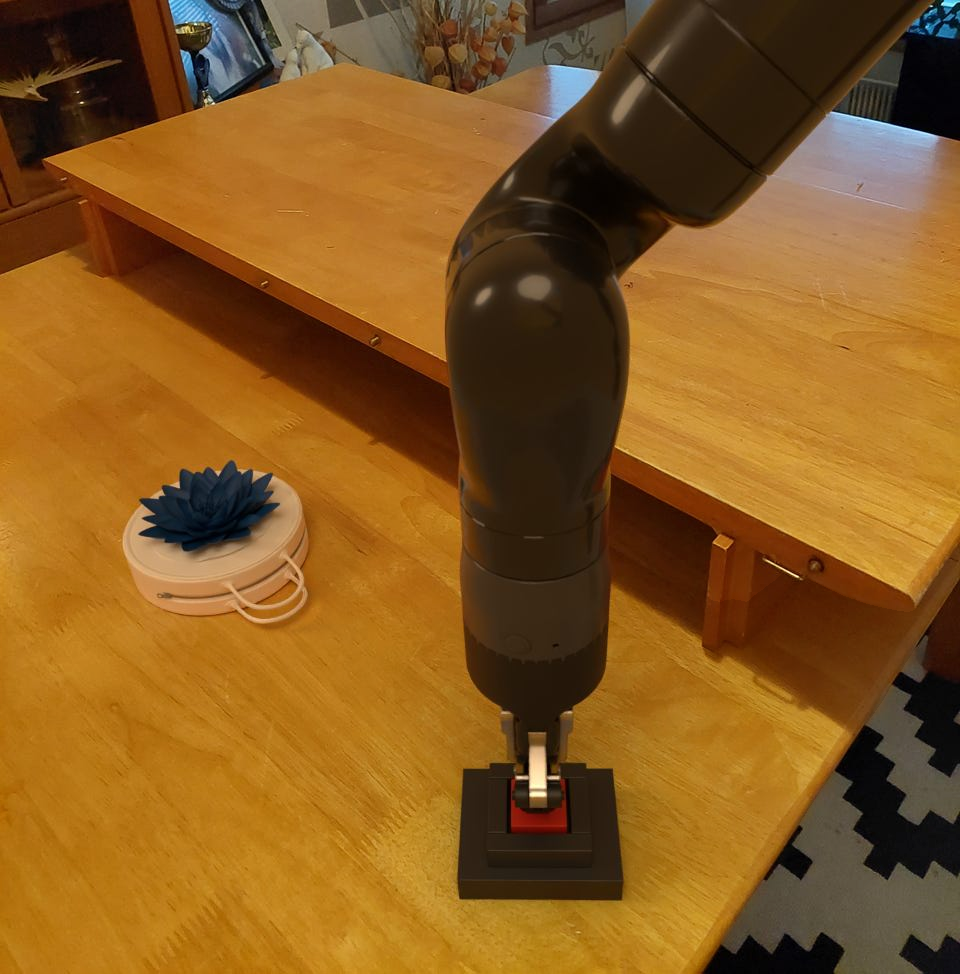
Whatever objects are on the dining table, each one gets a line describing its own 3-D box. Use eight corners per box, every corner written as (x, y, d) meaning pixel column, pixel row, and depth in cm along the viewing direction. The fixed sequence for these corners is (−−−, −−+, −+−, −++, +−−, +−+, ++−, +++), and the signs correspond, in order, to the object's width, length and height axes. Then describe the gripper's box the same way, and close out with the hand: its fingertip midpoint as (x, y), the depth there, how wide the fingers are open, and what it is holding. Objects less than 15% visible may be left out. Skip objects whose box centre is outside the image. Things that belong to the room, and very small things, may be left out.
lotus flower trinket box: (85, 493, 81) (183, 614, 68) (244, 425, 89) (359, 523, 76) (107, 552, 85) (204, 676, 73) (257, 483, 93) (369, 584, 80)
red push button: (611, 787, 63) (613, 751, 61) (622, 900, 57) (625, 864, 54) (465, 787, 64) (461, 751, 61) (459, 899, 57) (455, 864, 55)
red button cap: (564, 794, 60) (564, 778, 59) (566, 842, 57) (567, 826, 56) (512, 794, 60) (511, 778, 59) (511, 842, 57) (511, 826, 56)
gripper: (621, 703, 42) (606, 904, 52) (600, 517, 52) (591, 716, 63) (454, 704, 42) (473, 903, 52) (467, 519, 53) (480, 716, 63)
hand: (537, 801), depth 58 cm, fingers closed
